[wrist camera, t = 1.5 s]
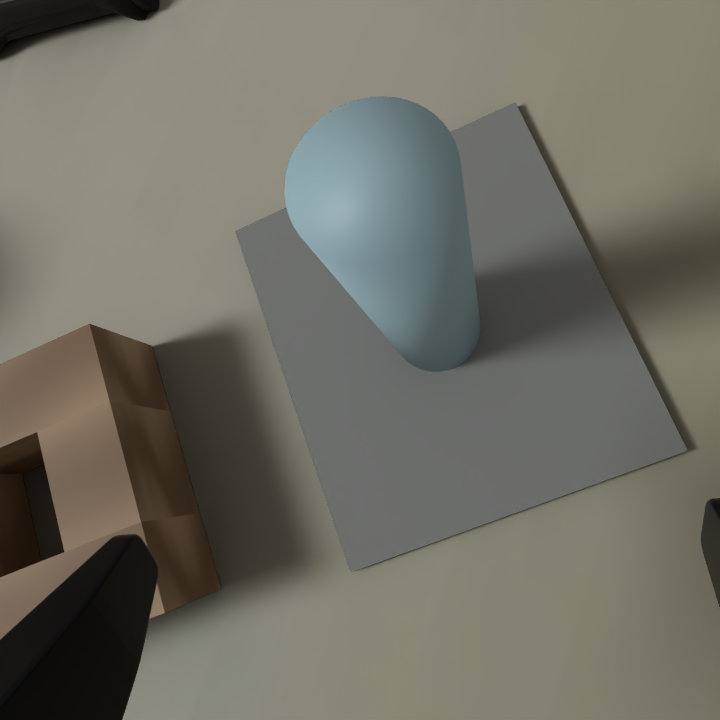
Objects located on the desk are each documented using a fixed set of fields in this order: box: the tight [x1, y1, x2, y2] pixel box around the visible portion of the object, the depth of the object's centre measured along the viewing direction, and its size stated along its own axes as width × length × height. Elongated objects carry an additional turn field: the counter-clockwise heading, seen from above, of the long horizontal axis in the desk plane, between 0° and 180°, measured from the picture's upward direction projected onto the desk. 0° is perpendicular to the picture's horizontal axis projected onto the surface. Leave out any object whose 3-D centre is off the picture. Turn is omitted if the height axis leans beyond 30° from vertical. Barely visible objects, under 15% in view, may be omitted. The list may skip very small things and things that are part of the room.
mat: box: [235, 103, 688, 572], centre depth 22 cm, size 14×12×1 cm
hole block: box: [0, 324, 221, 639], centre depth 23 cm, size 10×10×4 cm
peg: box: [285, 97, 481, 372], centre depth 17 cm, size 3×3×12 cm
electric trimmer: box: [0, 0, 159, 50], centre depth 29 cm, size 4×16×3 cm, turn 96°
